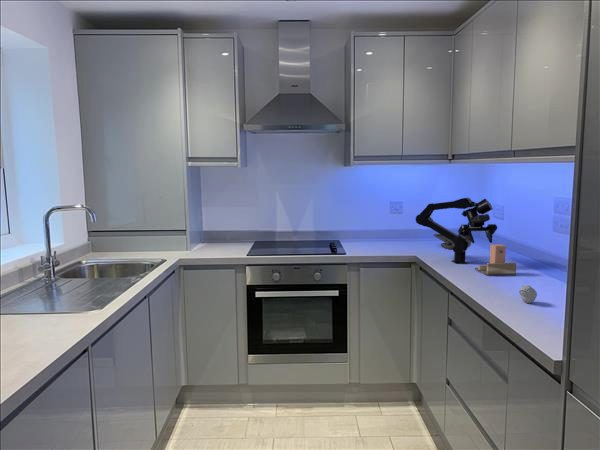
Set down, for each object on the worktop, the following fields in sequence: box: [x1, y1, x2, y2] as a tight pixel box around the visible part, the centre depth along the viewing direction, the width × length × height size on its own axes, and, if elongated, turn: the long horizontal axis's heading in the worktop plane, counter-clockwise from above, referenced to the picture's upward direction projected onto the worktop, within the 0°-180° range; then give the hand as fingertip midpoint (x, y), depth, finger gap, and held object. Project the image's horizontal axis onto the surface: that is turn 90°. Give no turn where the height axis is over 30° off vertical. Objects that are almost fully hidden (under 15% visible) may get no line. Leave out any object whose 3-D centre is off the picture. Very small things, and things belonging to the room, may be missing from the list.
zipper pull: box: [433, 233, 456, 251], centre depth 295 cm, size 9×7×25 cm
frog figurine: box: [518, 284, 538, 304], centre depth 174 cm, size 6×7×7 cm
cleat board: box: [474, 262, 517, 277], centre depth 223 cm, size 13×14×6 cm
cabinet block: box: [489, 243, 507, 263], centre depth 220 cm, size 6×5×13 cm
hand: (482, 242), depth 229 cm, fingers open, 9 cm apart
